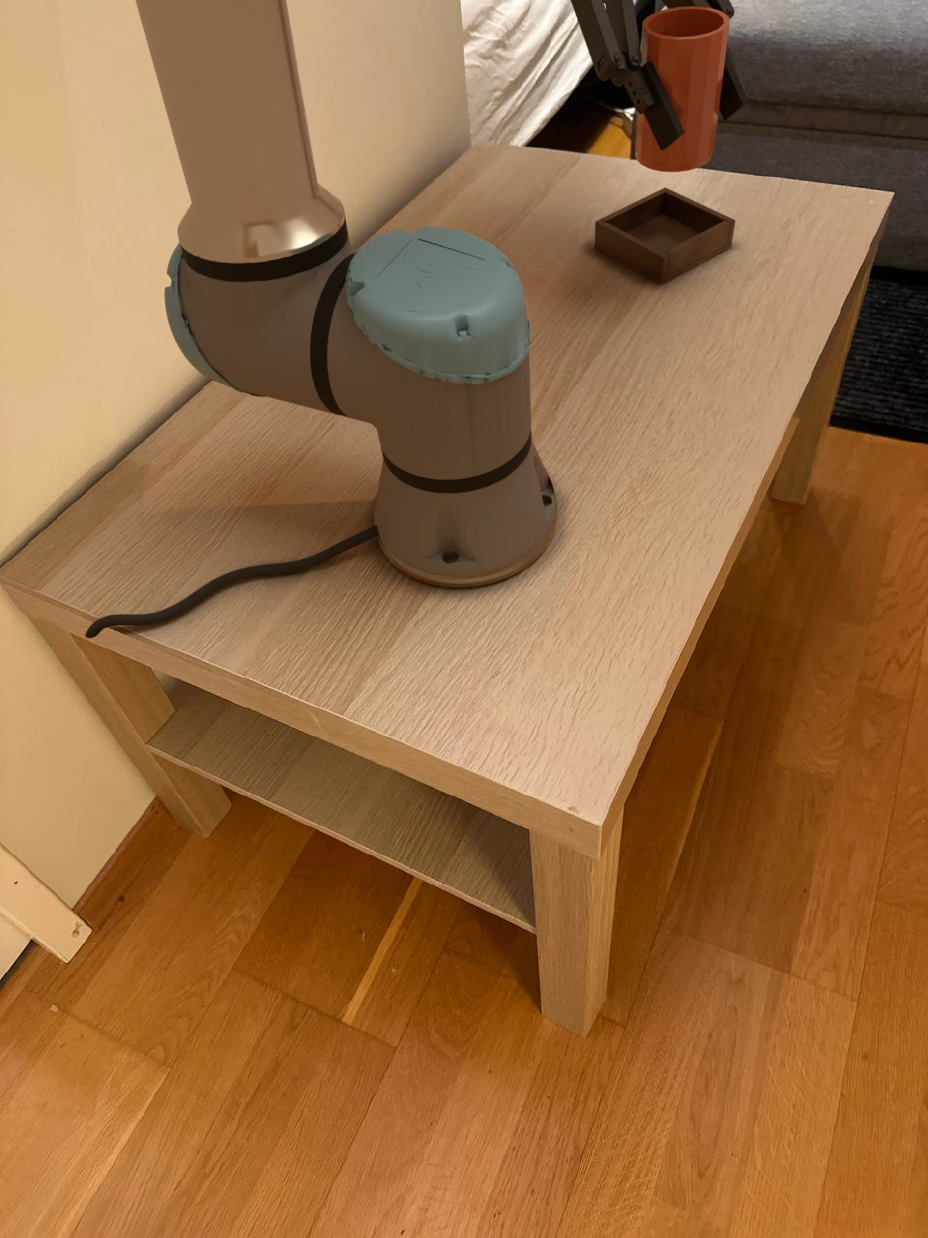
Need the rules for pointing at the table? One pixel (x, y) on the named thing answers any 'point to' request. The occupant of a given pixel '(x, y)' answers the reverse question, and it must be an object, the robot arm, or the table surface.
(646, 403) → the table surface
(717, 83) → the pencil cup
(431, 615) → the table surface
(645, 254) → the tray
